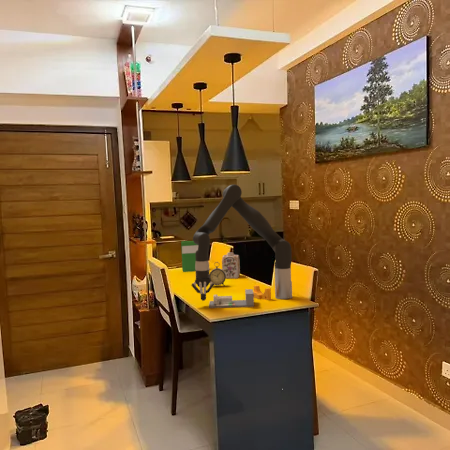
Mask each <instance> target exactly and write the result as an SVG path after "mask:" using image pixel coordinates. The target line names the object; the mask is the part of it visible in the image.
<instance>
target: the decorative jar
mask: <svg viewBox="0 0 450 450" xmlns="http://www.w3.org/2000/svg"><path fill="white" fill-rule="evenodd" d="M221 267H222V268H221V269H222V270H223V271H224V272H225V274H226V279H239V277H240V276H239V275H241V274H240V273H241V270H240V269H241V266H240V255H239V254H235V253H234V252H227V253H226V254H224V255H222V258H221Z"/></svg>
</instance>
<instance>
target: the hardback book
mask: <svg viewBox="0 0 450 450" xmlns="http://www.w3.org/2000/svg"><path fill="white" fill-rule="evenodd" d="M180 244H181V246H180V248H181V268H182V269H181V271H182V273H191V272H196V269H195V263H196V257H195V254H196V251H197V250H198V245H197V244H195V243H194V242H193V240H186V241H181V242H180Z"/></svg>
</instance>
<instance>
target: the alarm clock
mask: <svg viewBox="0 0 450 450" xmlns="http://www.w3.org/2000/svg"><path fill="white" fill-rule="evenodd" d="M216 263H217V264H219V262H218V261H215V262H214V264H213V265H214V266H215V268H213V269H212V270H211V271H209V275H210V280H211V282H212V283H214V286H221V285H223V287H225V286H226V285H225V284H224V283H225V281H226V279H227V278H226V274H225V272H224V271H223V270H222V268H219V265H216Z"/></svg>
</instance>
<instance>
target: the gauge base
mask: <svg viewBox="0 0 450 450" xmlns="http://www.w3.org/2000/svg"><path fill="white" fill-rule="evenodd" d="M244 290H245V291H244V292H245V293H244V294H245V299H240V300H238V299H237V300H233V299H232V304H221V305H220V304H214V300H209V303H208V309H221V308H222V309H224V308H227V309H228V308H231V309H232V308H254V307H255V298H254V294H253V292H254V288H253V289H247V288H245V289H244Z"/></svg>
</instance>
